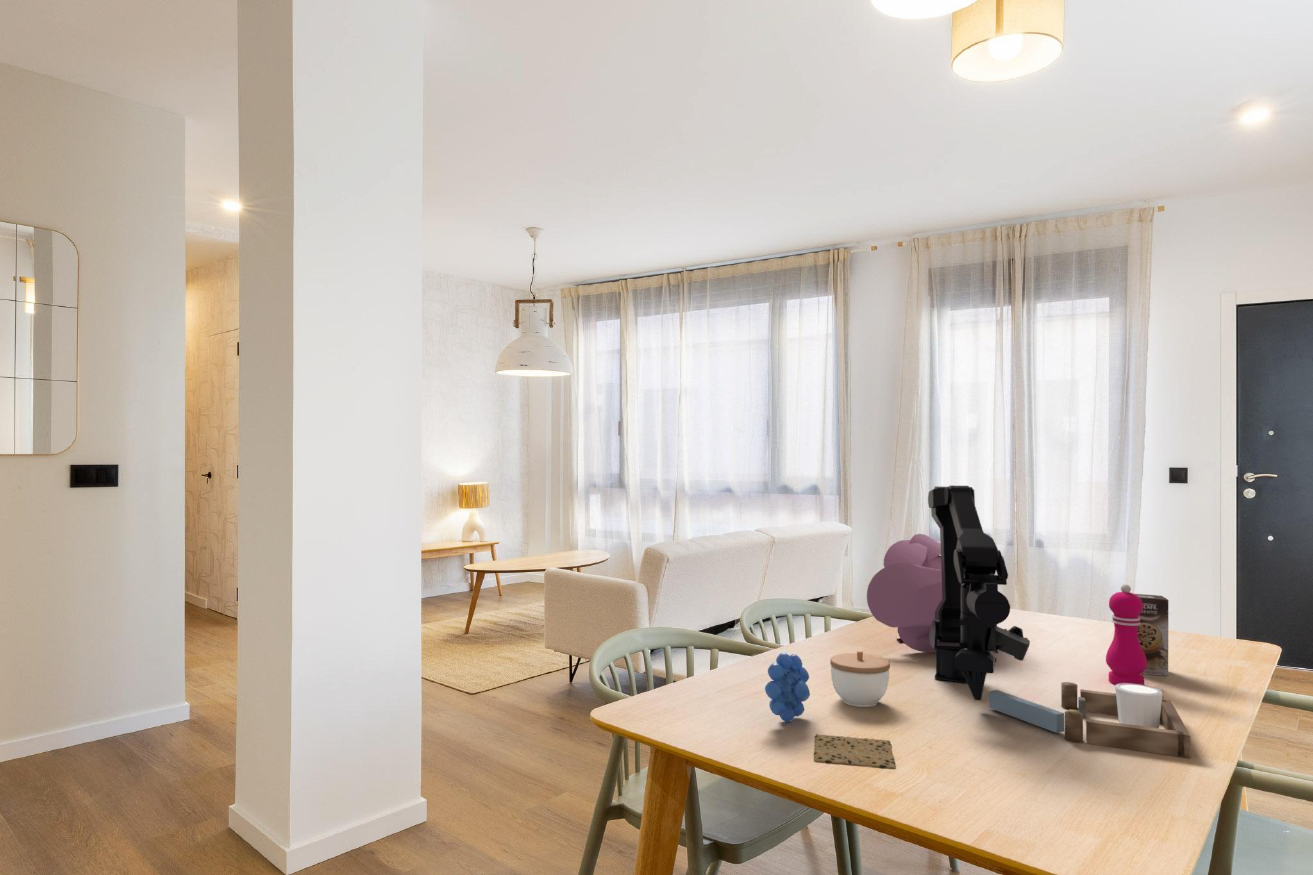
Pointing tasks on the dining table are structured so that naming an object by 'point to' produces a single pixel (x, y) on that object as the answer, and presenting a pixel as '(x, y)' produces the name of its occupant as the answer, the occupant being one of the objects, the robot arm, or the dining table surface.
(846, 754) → the cookie
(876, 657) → the lidded jar
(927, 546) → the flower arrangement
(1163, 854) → the dining table surface
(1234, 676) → the dining table surface
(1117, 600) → the pepper mill
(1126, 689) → the white cup
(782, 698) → the grapes
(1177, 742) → the fence
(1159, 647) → the dark tall box
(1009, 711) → the gate
